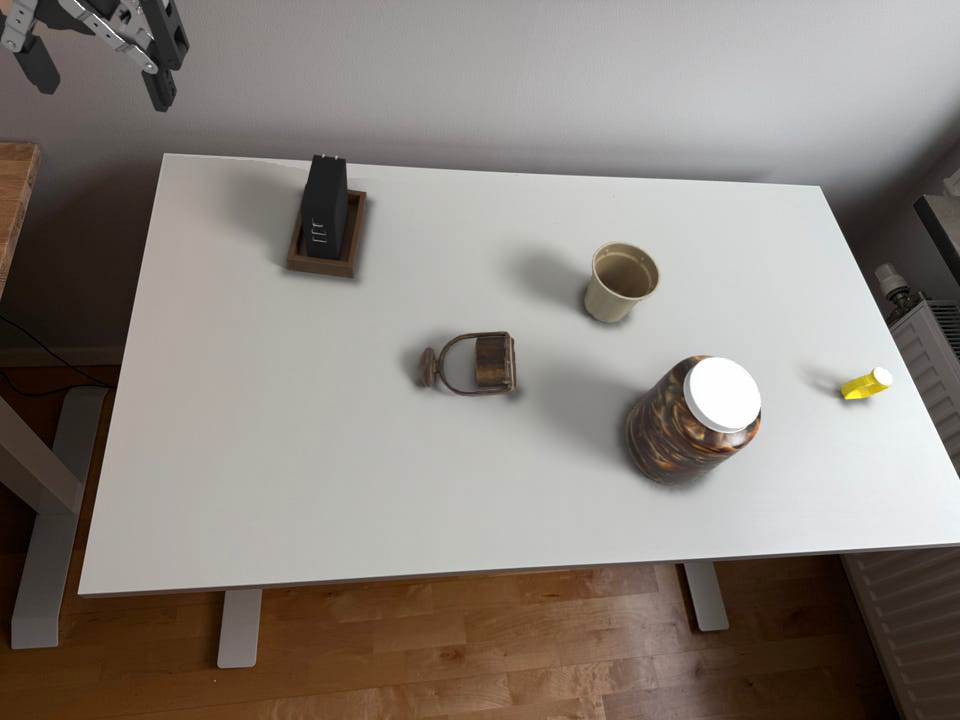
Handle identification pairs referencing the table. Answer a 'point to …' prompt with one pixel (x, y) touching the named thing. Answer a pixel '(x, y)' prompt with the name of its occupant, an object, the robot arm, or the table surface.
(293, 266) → the tray
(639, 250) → the flower pot
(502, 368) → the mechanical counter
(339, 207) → the electronic device
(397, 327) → the table surface
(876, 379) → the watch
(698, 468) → the jar
